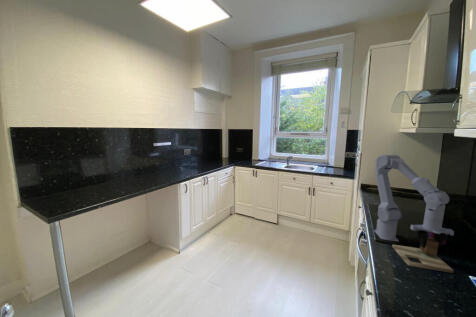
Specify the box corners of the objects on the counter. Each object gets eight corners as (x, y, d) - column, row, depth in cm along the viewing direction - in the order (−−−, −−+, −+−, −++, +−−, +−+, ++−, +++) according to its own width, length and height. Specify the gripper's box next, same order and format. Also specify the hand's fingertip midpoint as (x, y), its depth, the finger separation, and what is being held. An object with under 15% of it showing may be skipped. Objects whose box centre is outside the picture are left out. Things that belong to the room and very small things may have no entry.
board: (392, 246, 95) (392, 243, 95) (429, 252, 91) (430, 249, 91) (408, 265, 82) (408, 262, 82) (453, 273, 78) (453, 269, 78)
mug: (426, 240, 101) (428, 228, 100) (428, 234, 107) (430, 222, 106) (445, 246, 96) (447, 233, 95) (446, 239, 102) (448, 227, 101)
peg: (419, 248, 90) (421, 236, 89) (430, 250, 89) (432, 237, 88) (425, 253, 86) (427, 241, 85) (436, 255, 85) (438, 242, 84)
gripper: (418, 220, 83) (414, 249, 85) (461, 225, 79) (456, 255, 81) (409, 213, 90) (405, 240, 92) (448, 217, 86) (443, 246, 88)
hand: (428, 247), depth 87 cm, fingers closed on peg, 4 cm apart
